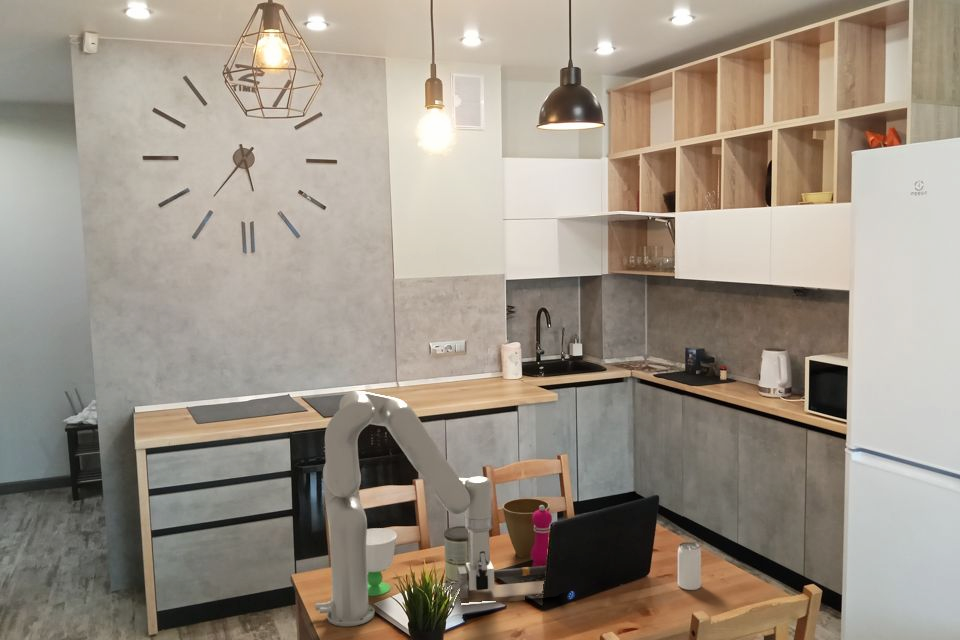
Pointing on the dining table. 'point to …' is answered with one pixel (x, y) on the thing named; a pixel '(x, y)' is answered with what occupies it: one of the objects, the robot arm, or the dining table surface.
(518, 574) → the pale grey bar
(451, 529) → the coffee can
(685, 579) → the can
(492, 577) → the white cubic block
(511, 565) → the dining table surface
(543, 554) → the pepper mill
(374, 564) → the cup
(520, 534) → the plant pot
